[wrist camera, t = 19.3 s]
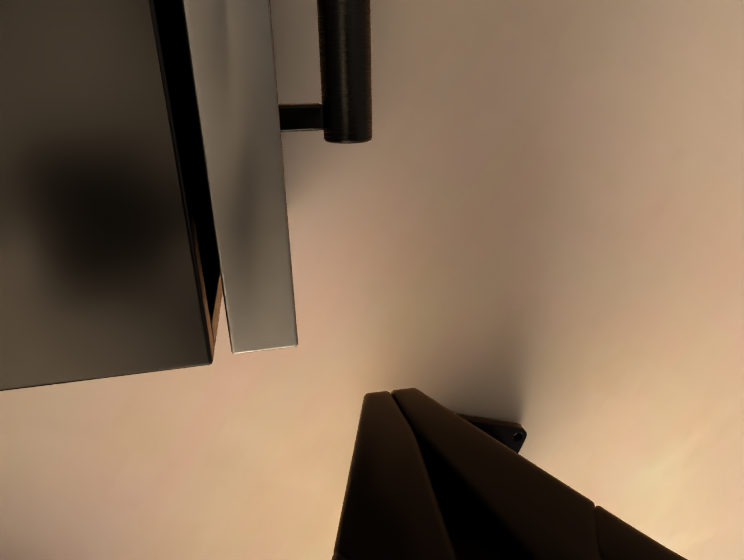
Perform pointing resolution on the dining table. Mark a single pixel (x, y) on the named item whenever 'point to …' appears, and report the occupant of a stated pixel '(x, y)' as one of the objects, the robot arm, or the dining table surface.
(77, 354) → the black open cubby
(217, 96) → the drawer
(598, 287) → the dining table surface
